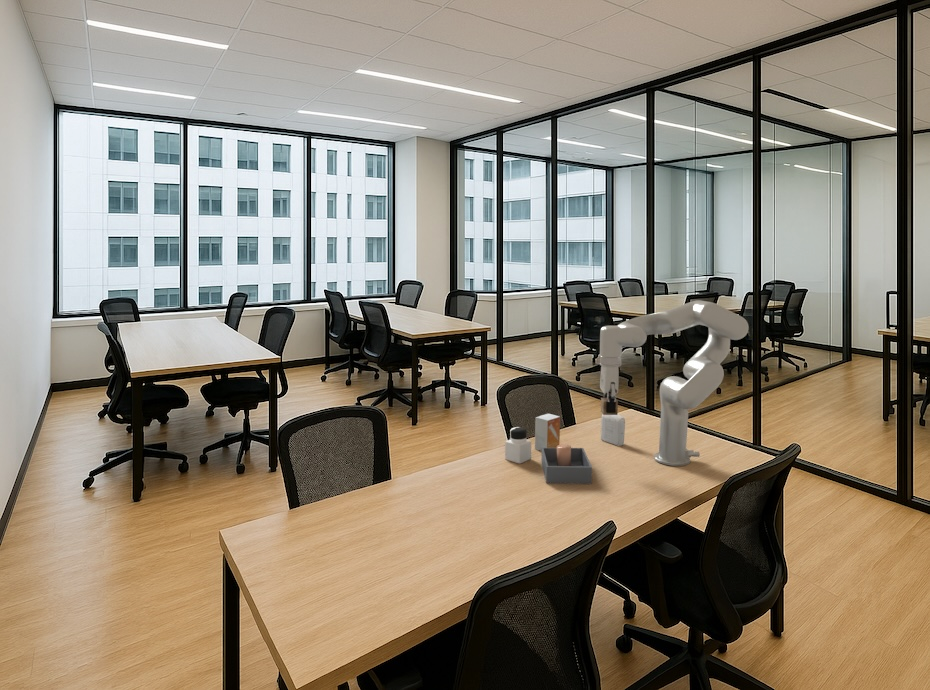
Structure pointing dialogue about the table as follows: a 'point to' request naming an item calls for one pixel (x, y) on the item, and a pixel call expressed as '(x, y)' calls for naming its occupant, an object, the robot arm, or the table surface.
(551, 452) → the tote
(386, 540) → the table surface
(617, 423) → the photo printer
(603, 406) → the walnut cube
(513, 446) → the medicine bottle
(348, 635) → the table surface
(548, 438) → the small box
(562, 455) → the pink rounded block
